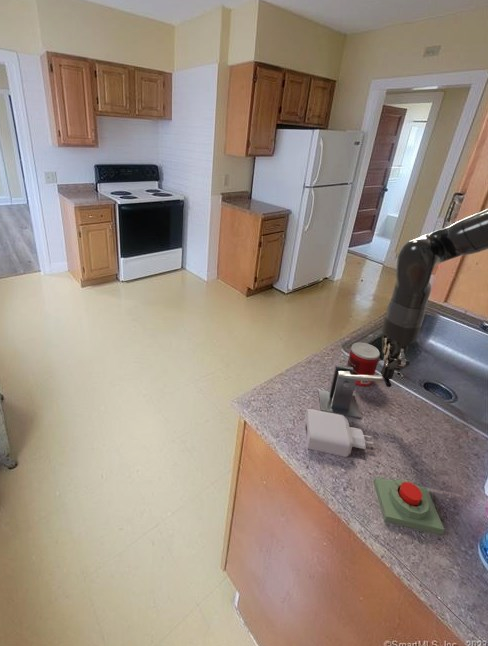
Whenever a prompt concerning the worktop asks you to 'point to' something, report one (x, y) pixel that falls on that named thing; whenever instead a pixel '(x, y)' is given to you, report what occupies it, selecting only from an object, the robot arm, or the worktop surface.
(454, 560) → the worktop surface
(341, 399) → the tap bracket
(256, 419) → the worktop surface
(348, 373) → the tap lever
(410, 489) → the button
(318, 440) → the charger
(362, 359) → the canned food
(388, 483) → the button box
